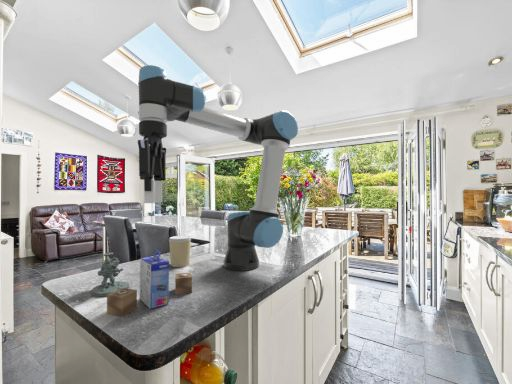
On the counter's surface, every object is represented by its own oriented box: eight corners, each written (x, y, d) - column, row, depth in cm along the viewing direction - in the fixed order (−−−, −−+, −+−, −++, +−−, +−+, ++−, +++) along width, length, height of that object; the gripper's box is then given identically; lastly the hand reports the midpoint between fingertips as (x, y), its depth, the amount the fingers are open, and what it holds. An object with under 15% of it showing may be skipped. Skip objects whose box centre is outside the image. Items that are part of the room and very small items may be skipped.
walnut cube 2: (191, 287, 84) (191, 271, 84) (192, 292, 79) (191, 276, 79) (175, 289, 83) (175, 273, 83) (175, 295, 78) (175, 278, 78)
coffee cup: (190, 260, 116) (189, 234, 116) (192, 266, 108) (192, 238, 108) (168, 262, 113) (168, 236, 113) (169, 268, 104) (169, 239, 104)
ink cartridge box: (170, 304, 71) (170, 253, 71) (150, 310, 68) (149, 256, 68) (157, 293, 79) (157, 247, 79) (138, 298, 75) (138, 250, 75)
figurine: (87, 299, 75) (87, 259, 75) (94, 287, 85) (94, 251, 85) (127, 293, 79) (127, 255, 79) (129, 282, 89) (129, 248, 89)
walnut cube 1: (136, 308, 69) (136, 288, 69) (122, 316, 64) (122, 295, 64) (122, 305, 71) (122, 286, 71) (107, 314, 66) (106, 293, 66)
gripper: (153, 130, 82) (154, 201, 82) (123, 113, 65) (124, 204, 65) (176, 129, 82) (176, 201, 82) (152, 112, 64) (152, 204, 64)
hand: (153, 202), depth 73 cm, fingers open, 4 cm apart
